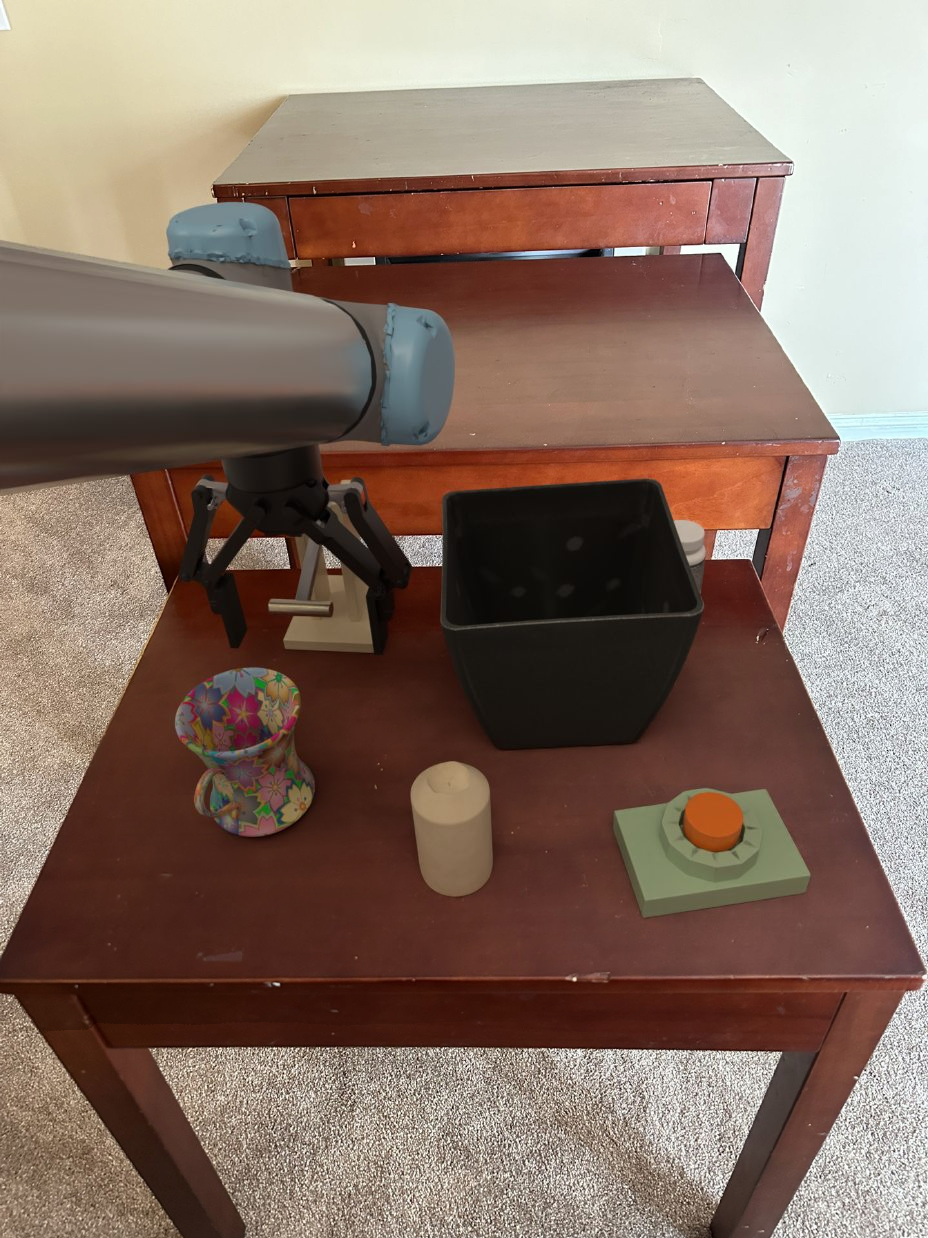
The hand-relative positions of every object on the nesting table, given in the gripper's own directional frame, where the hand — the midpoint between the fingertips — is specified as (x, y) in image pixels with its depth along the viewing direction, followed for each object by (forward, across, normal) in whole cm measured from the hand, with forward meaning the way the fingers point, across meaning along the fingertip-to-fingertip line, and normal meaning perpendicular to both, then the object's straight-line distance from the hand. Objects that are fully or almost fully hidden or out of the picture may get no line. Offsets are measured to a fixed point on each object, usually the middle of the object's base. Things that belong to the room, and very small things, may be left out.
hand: (309, 642), depth 81 cm
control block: (+5, +34, -17) cm, 39 cm away
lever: (-5, 0, +6) cm, 8 cm away
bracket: (+5, 0, +10) cm, 11 cm away
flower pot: (+5, +22, -1) cm, 23 cm away
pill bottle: (+5, +34, +15) cm, 37 cm away
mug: (+5, -1, -16) cm, 17 cm away
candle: (+5, +16, -19) cm, 25 cm away
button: (+1, +34, -17) cm, 38 cm away
